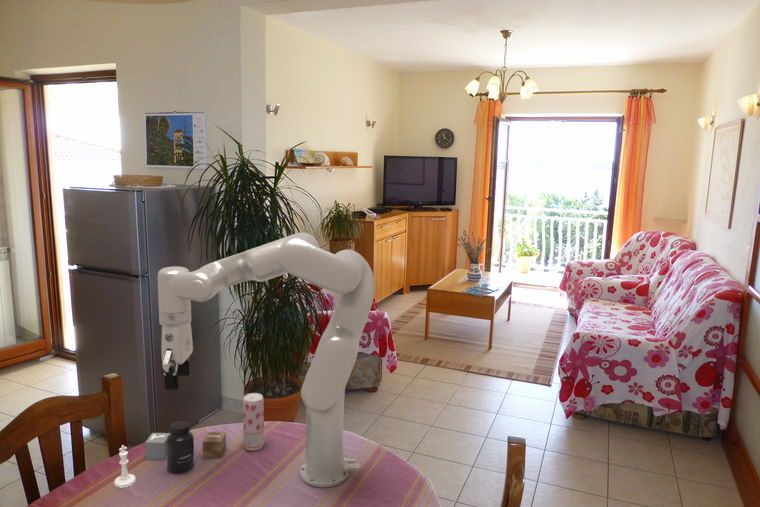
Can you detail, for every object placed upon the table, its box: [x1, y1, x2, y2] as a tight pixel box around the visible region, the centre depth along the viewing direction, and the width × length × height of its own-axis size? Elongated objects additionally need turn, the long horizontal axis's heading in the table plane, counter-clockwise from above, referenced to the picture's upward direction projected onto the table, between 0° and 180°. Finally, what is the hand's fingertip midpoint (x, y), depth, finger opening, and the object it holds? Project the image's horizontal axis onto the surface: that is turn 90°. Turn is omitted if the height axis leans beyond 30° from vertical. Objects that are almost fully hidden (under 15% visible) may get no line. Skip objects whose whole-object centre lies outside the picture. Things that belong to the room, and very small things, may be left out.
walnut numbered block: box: [202, 431, 227, 459], centre depth 152 cm, size 5×5×5 cm
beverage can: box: [242, 392, 265, 452], centre depth 155 cm, size 6×6×15 cm
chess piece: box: [114, 444, 137, 489], centre depth 137 cm, size 5×5×10 cm
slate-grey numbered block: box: [144, 432, 170, 460], centre depth 150 cm, size 5×5×5 cm
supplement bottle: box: [166, 420, 195, 475], centre depth 144 cm, size 7×7×12 cm
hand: (177, 381), depth 141 cm, fingers open, 7 cm apart
